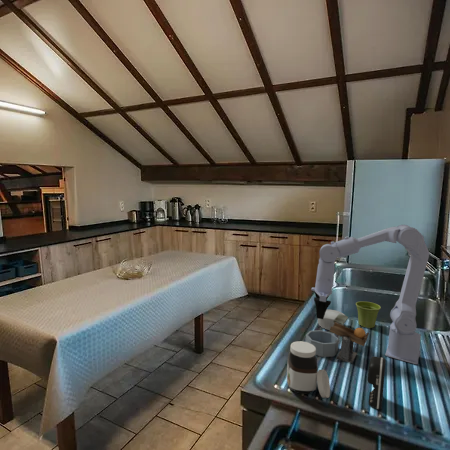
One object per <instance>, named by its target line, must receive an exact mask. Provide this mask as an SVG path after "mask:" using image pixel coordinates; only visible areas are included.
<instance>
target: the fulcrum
mask: <svg viewBox="0 0 450 450" xmlns="http://www.w3.org/2000/svg"><path fill="white" fill-rule="evenodd" d="M354 344H355V342H352V341H350V337H349V336H345V335H342V337H341V345H340V351H339V352H338V353H337V354H336V358H335V359H336V360H339V361H342V362H346V363H349V364H353V363H354V361H355V359H356V358H357V355H358V352H355V351H354Z"/></svg>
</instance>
